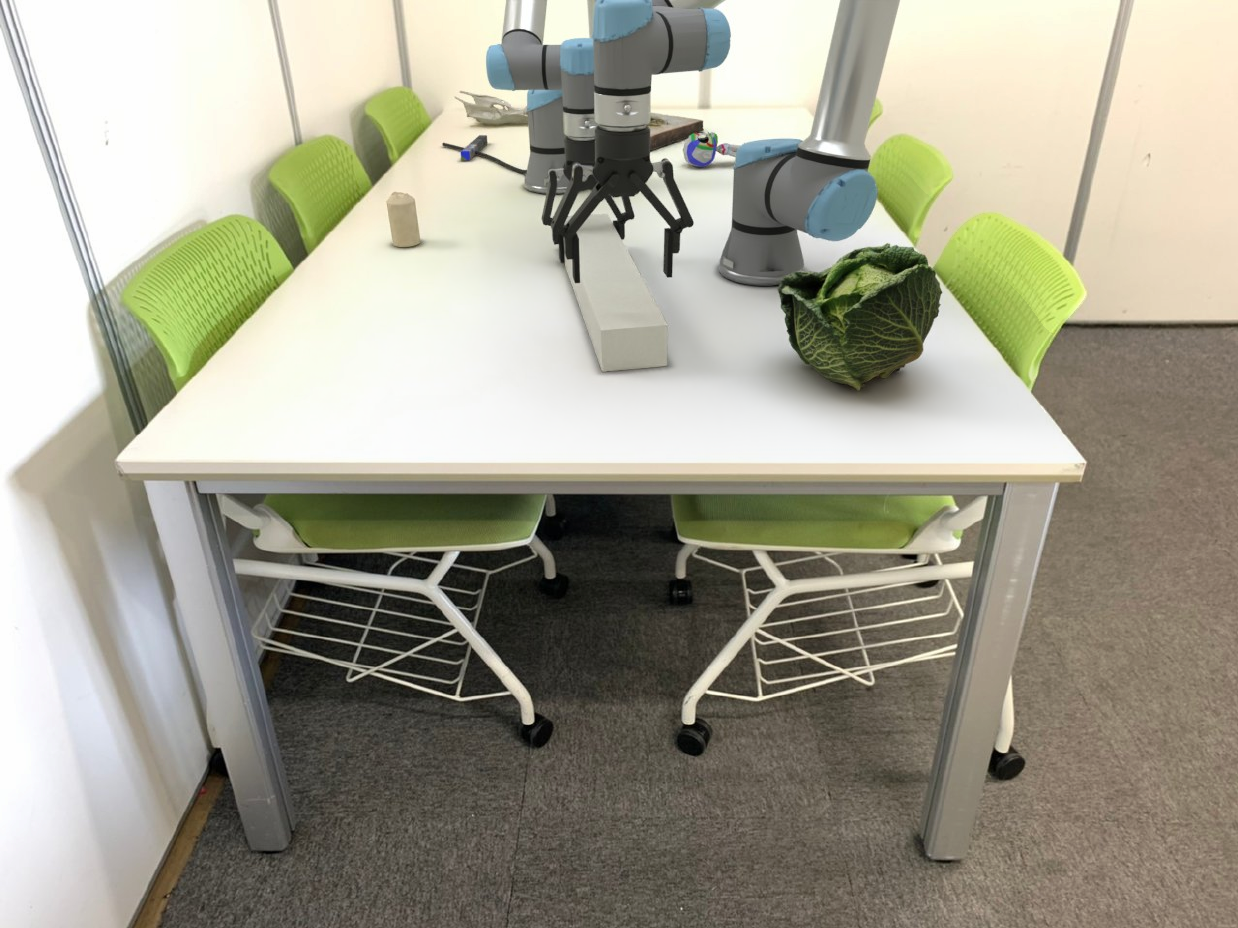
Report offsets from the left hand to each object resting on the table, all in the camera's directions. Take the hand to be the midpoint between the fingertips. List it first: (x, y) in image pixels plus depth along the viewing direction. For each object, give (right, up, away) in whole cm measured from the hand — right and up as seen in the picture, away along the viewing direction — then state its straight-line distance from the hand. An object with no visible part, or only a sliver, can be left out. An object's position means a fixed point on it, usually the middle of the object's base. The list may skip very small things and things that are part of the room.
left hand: (589, 258), depth 170 cm
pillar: (-34, +46, +75) cm, 95 cm away
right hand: (+6, -12, -39) cm, 41 cm away
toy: (+37, +38, +60) cm, 80 cm away
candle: (-37, +5, +11) cm, 39 cm away
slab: (+3, -11, -16) cm, 20 cm away
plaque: (+10, +56, +89) cm, 106 cm away
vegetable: (+39, -26, -41) cm, 63 cm away
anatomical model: (-31, +66, +106) cm, 129 cm away
